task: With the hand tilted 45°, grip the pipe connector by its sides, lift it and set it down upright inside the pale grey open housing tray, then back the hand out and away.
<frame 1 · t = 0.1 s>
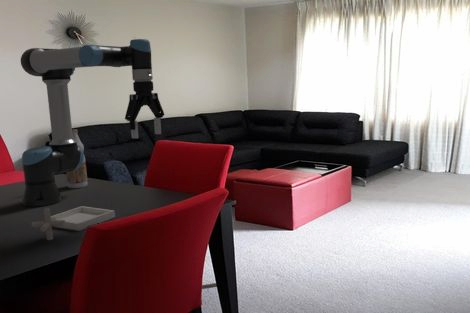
hand: (146, 136, 175), 28 cm above the table, tool pointing down, fingers open, 13 cm apart
fruit juice: (77, 186, 221), on the table
pipe connector: (50, 239, 144), on the table
housing tray: (80, 221, 163), on the table
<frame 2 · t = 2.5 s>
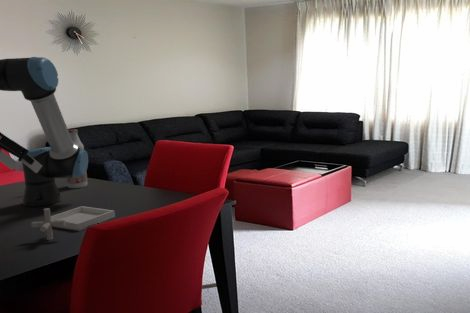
hand: (26, 167, 137), 24 cm above the table, tool tilted 45°, fingers open, 13 cm apart
nothing on the table moved.
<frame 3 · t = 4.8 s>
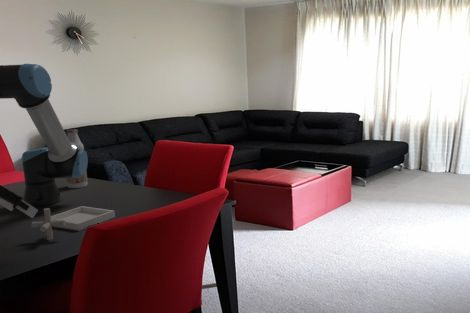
hand: (24, 210, 137), 11 cm above the table, tool tilted 45°, fingers open, 13 cm apart
nothing on the table moved.
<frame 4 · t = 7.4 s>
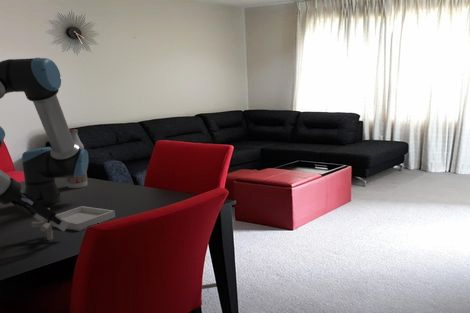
hand: (58, 225, 146), 4 cm above the table, tool tilted 45°, fingers closed on pipe connector, 8 cm apart
pipe connector: (50, 239, 144), on the table, touching gripper
everything else where it was.
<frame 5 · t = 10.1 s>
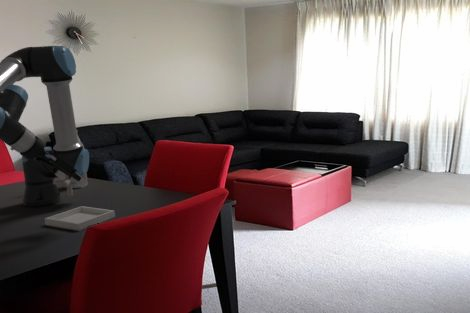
hand: (77, 183, 158), 15 cm above the table, tool tilted 45°, fingers closed on pipe connector, 8 cm apart
pipe connector: (70, 195, 156), point 11 cm above the table, touching gripper
everything else where it was.
when the fingers open (5 cm above the table, at t = 12.7 s): pipe connector stays where it is, resting on housing tray.
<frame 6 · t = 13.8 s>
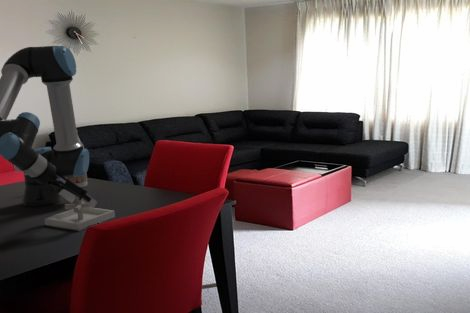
hand: (84, 202, 163), 6 cm above the table, tool tilted 45°, fingers open, 13 cm apart
pipe connector: (80, 219, 163), resting on housing tray
everything else where it was.
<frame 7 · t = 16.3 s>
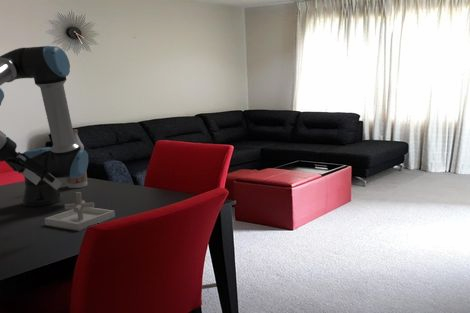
hand: (48, 183, 152), 16 cm above the table, tool tilted 45°, fingers open, 13 cm apart
nothing on the table moved.
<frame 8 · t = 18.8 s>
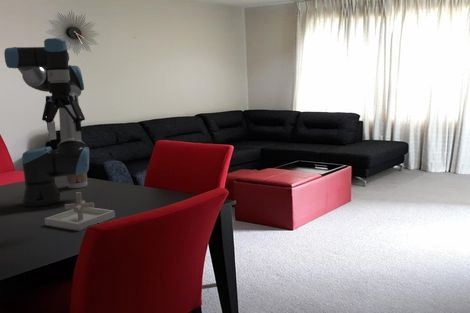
hand: (65, 140, 167), 29 cm above the table, tool pointing down, fingers open, 13 cm apart
nothing on the table moved.
at the end: pipe connector inside the target area on the housing tray (0.1 cm from its centre), point 0.4 cm above the housing tray's base; pipe connector tilted 0°; the gripper is holding nothing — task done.
